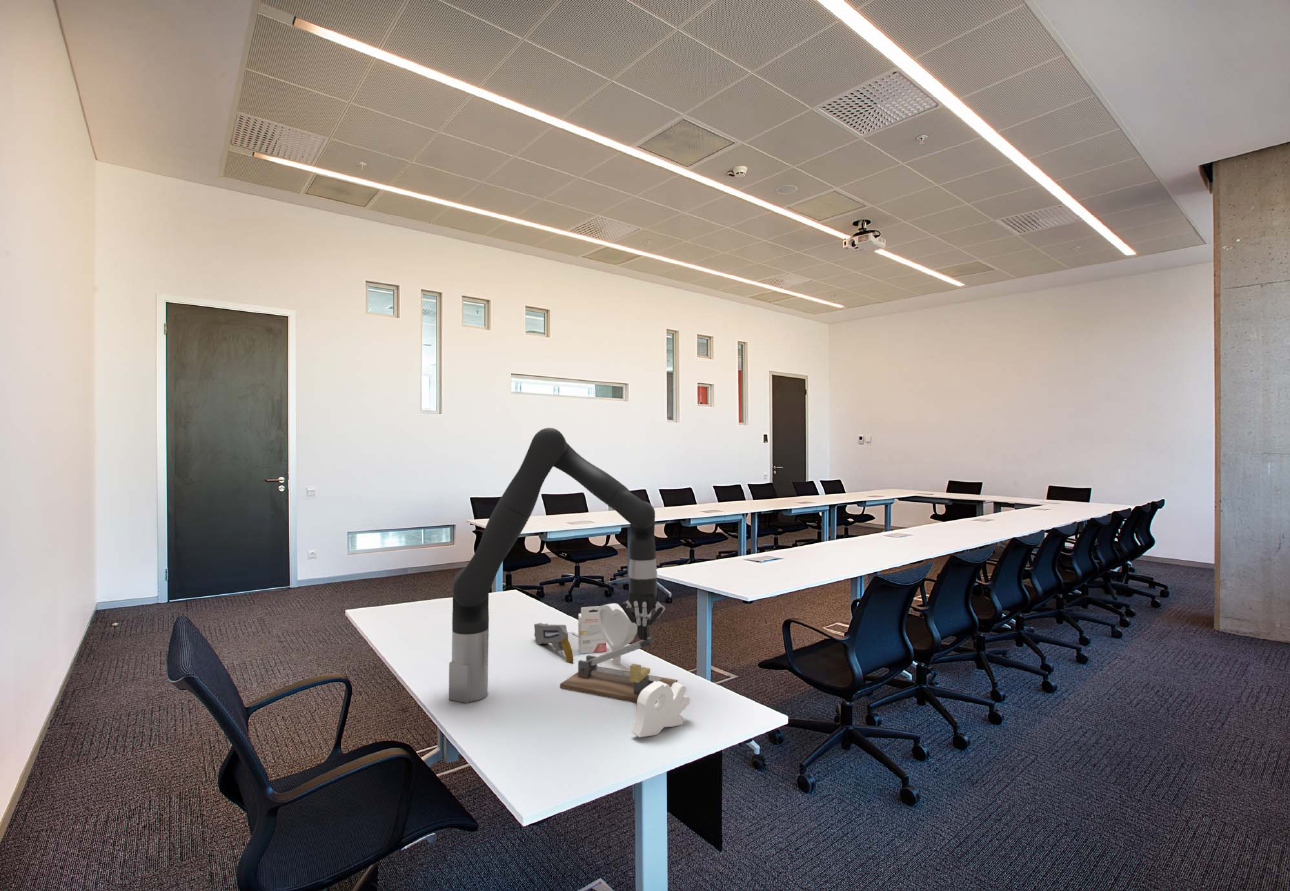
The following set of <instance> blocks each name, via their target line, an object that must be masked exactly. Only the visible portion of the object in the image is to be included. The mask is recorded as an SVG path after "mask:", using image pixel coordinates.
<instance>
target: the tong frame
mask: <svg viewBox="0 0 1290 891" xmlns="http://www.w3.org/2000/svg"><path fill="white" fill-rule="evenodd" d="M595 657H597V656H596V655H595V656H594V655H588V654H587V655H586V657H585V659H586V660H582V659H580V660H578V661H577V665H578V666H577V672H578V677H580V678H586V679H588V678H589V677H591V678H597V679H602V680H608V681H614V682H619V683H625V684H630V685H634V694H636V695H639V694H640V692H641V691H642V690H643V689H644V688H646V687H647V686H648V685H650V684H651V683H653V682H654V681H656V682H657V681H661V682H662V678H659V677H660V676H658V677H653V676H654V675H652V676H646V677H645V678H644V679H642V680H641V681H640V682H639V683H636V682H630V672H624V671H618V670H612V669H606V668H607V667H605V668H600V667H601V666H599V667H597V666H598V664H596V665H593V666H591V667H589V662H588V661H589V660H590V659H592V658H595Z"/></svg>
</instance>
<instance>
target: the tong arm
mask: <svg viewBox="0 0 1290 891" xmlns="http://www.w3.org/2000/svg"><path fill="white" fill-rule="evenodd" d="M655 641H656V640H655V637H654V636H653V635H652V636H649V637H647V639H646V640H638V641H636V642H634V643H633V642H632V643H629V644H628V645H626V646H624V647H622V648H619V649H617V650H614V651H612V650H611V651H608V652H606V653H604V654H600V655H597V656H596V657H595V658H592V659H590V660H589V661H588V662H589V667H591V666H593V665H596V664H597V665H598V664H599V663H602V662H604V661H607V660H613V658H615V657H618V656H621V657H622V656H623V655H627V654H629V653H631V652H634V651H636V650H639V649H642V648H643V649H644V647H648V646H651V645H652V644H653V643H655Z"/></svg>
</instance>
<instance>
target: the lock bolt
mask: <svg viewBox="0 0 1290 891" xmlns="http://www.w3.org/2000/svg"><path fill="white" fill-rule="evenodd" d="M629 668H630V682H636V683H639V682H640V681H641V680H642V679H644V678H645V677H646V676H647V675H650V674H651V668H650V667H643V666H642V665H641V664H636V663H632V664H631V665H629Z"/></svg>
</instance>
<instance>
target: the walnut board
mask: <svg viewBox="0 0 1290 891" xmlns="http://www.w3.org/2000/svg"><path fill="white" fill-rule="evenodd" d="M597 667H600V668H606V669H611V668H608V667H606V666H598V665H597ZM612 670H616V669H612ZM618 671H622V670H618ZM624 672H628V671H624ZM647 676H653V677H659V678H662V682H663V683H665V684H668V685H669V686H670V687H671V686H672V685H673V683H675V682H678V683H679V681H678V679H675V678H668V677H663V676H657V675H650V674H648V675H647ZM559 688H560V689H561V690H568V691H573V692H578V693H584V694H589V695H594V696H598V697H599V696H600V697H605V698H609V699H610V698H611V699H614V700H615V699H616V700H621V701H625V702H631V703H635V704H637V699H638V696H639V695H636V694H634V685H630V684H625V683H619V682H614V681H608V680H602V679H597V678H591V677H589V678H588V679H586V678H580V677H578V671H577V672H576V673H574V674H573V675H571V676H569V677H568V678H566V679H565V680H564V681H562V682H561V683H560V684H559ZM656 703H657V701H656Z"/></svg>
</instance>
